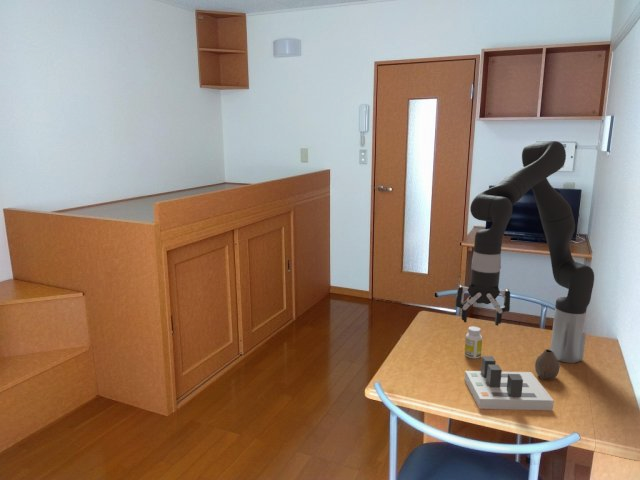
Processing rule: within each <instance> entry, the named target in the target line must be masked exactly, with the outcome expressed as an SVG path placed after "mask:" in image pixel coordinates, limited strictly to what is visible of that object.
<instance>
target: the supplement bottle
mask: <svg viewBox="0 0 640 480" xmlns="http://www.w3.org/2000/svg"><path fill="white" fill-rule="evenodd" d="M481 332H482V331H481V327H478V326H472V325H471V326H469V327H468V330H467V333H466V335H465V343H464V355H465V356H466V357H467V358H470V359H479V358H482V345H483V336H482V334H481Z"/></svg>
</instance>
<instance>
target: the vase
mask: <svg viewBox="0 0 640 480" xmlns="http://www.w3.org/2000/svg"><path fill="white" fill-rule="evenodd" d="M534 368H535V373H536V375H537V376H538V377H539V378H540V379H543V380H547V381H549V380H550V381H551V380H554V379H555V378H556V377H557V376H558V375H559V372H560V361H559V360H558V359H557V358H556V356H555V355H554V353H553V351H552V350H550V348H548V349H544V351H543V352H542V353H540V355H538V356H537V357H536V359H535V362H534Z"/></svg>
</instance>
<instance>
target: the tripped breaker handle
mask: <svg viewBox="0 0 640 480" xmlns="http://www.w3.org/2000/svg"><path fill="white" fill-rule="evenodd" d="M522 386H523V379H522V378H521V376H520V375H519V374H508V380H507V392H508V393H509V395H510V396H521V395H522Z"/></svg>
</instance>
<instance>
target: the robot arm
mask: <svg viewBox="0 0 640 480" xmlns="http://www.w3.org/2000/svg"><path fill="white" fill-rule="evenodd" d="M566 159H567V151H566V149H565V146H564V145H563V144H562V143H561V142H560V141H557V140H549V141H548V140H547V141H542V142H534V143H529V144H526V145H525V146H524V147H523V148H522V152H521V161H522V162H521V163H522V166H523V167H522V168H519V169H518V170H514V171H512V173H510V174H509V175H507V176H505V177H504V178H503V180H502V181H500V182H499V183H498V184H497V185H495V186H492V187H490V188H487V189H486V190H483V191H482V192H480V193H478V194H477V195H476V196H475V197H474V198H473V199H472V201H471V203H470V213H471V216H472V217H473V219H475V220H479V221H482V222H483V221H484V222H488V223H489V222H490V223H492V224H491V227H490V228H487V229H486V228H484V229H483V228H482V229H479V230H477V231H476V232H475V236H474V245H473V254H472V258H471V266H470V267H471V270H470V277H469V278H470V280H469V285H468V286H464V285H462V284H458V285H457V292H456V297H455V306H456V308H460V309H461V315H460V316H461V320H462V321H463V323H467V321H468V308H469V307H470V306H472V305H473V304H474V303H476V304H485V305H489V304H492V306H493V307H494V308H495V319H494V324H495V326H497V327H498V326H499V325H500V324H501V323H502V319H503V318H502V317H503V313H508V312H509V313H510V311H511V308H510V307H511V292H510V289H509V288H505V289H500V287H499V283H500V275H501V268H502V266H501V265H502V255H501V253H502V246H503V237H504V234H505V232H506V229H507V228H508V227H507V226H508V224H509V222H510V219H511V217H512V214H513V206H514V205H515V204H516V203H518V202H519V201H520V199H522V197H524V196H525V195H526V193H528V192H529V191H530V190H532V193H533V195H534V196H533V197H534V199H535V202H536V207H537V210H538V214H539V218H540V222H541V226H542V229H543V232H544V235H545V239H546V243H547V246H548V251H549V258H550V263H551V269H552V275H553V279H554V281H555V282H556V284H558V285H559V286H561V287H563V288H564V289H565V288H566V289H568V291H567V296H561V297H557V298H556V301H555V306H554V307H555V308H554V314H553V325H552V331H551V339H550V340H551V341H550V346H549V347H550V348H549V350H552V351H553V353H554V355H555V356H556V358H557V359H558V361H559V362H561V363H562V362H563V363H569V364H570V363H571V364H572V363H573V364H574V363H575V364H576V363H578V362H583V359H584V353H585V344H586V337H587V334H586V333H585V332H584V330H585V323H586V316H587V309H588V306H589V304H590V302H591V299H592V295H593V290H594V284H595V272H594V270H593V268H592V267H591V266H589V265H586V264H584V263H581V262H578V261H575V260H574V258H573V254H572V252H571V247H570V243H571V240H572V238H573V235H574V233H575V229H576V223H575V218H574V213H573V210H572V207H571V204H570V203H569V202H568V201H567V200H566V198H564V196H563V195H562V194H560V192H558V191H557V190H556V189H555V188H554V186H552V185H551V183H550V182H549V180H548V177H550V176H552V175H553V174H556V172H558V171H560V170H561V169H562V168H563V166H564V165H565V163H566ZM465 293H468V294H469V296H468V297H467V299H466V300H465V301H463V302H462V297H463V295H465ZM499 295H501V297H502V298H503V305H502V306H501V305H500V304H499V301H498V300H497V298H498V297H499Z"/></svg>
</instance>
